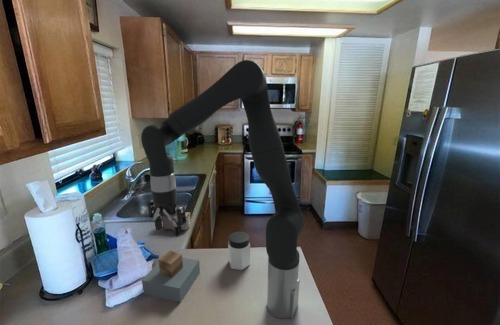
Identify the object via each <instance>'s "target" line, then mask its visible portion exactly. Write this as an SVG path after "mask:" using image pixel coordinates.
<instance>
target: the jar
mask: <svg viewBox="0 0 500 325" xmlns="http://www.w3.org/2000/svg"><path fill="white" fill-rule="evenodd" d="M227 246H228V249H227V250H228V262H229V265H230V269H233V270H238V271H239V270H240V271H243V270H244V269H246V268H247V267H249V266H250V265H251V243H250V235H249V234H248V233H247V232H245V231H234V232H232V233H230V234H229V236H228V243H227Z"/></svg>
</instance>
